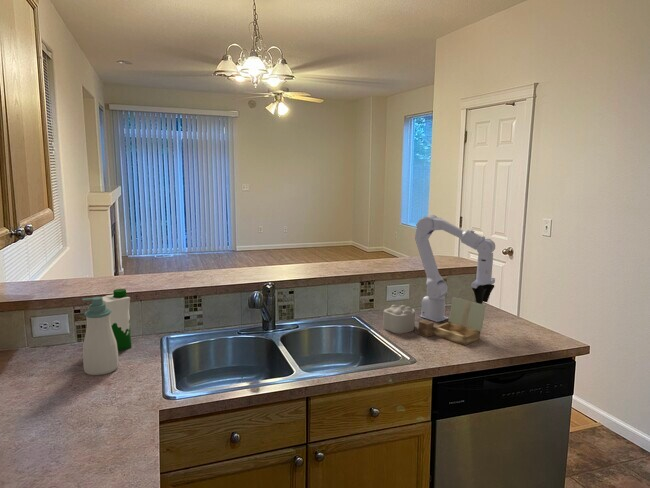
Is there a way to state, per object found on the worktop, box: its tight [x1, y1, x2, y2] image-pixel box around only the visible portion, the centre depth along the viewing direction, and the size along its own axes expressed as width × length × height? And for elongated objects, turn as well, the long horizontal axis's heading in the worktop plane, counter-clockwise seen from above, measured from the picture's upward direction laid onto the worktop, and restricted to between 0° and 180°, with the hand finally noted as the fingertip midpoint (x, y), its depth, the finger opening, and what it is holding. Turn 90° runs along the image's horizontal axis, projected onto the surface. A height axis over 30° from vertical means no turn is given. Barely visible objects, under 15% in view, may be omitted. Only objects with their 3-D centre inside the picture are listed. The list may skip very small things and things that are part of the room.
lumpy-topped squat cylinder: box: [382, 304, 416, 334], centre depth 184 cm, size 10×13×9 cm
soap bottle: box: [81, 296, 120, 376], centre depth 140 cm, size 10×10×23 cm
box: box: [432, 321, 481, 346], centre depth 175 cm, size 14×10×3 cm
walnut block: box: [417, 319, 435, 338], centre depth 177 cm, size 4×4×5 cm
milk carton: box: [101, 288, 132, 352], centre depth 157 cm, size 9×9×20 cm
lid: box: [448, 296, 487, 332], centre depth 178 cm, size 14×10×1 cm
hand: (481, 302), depth 185 cm, fingers open, 4 cm apart
